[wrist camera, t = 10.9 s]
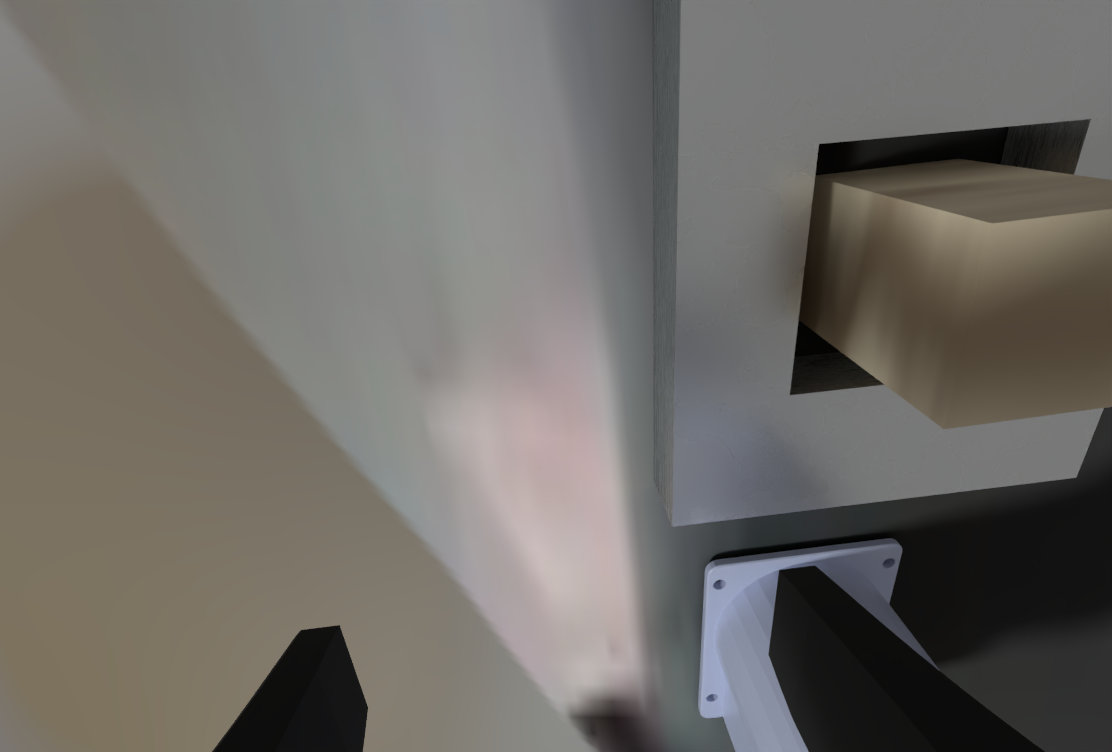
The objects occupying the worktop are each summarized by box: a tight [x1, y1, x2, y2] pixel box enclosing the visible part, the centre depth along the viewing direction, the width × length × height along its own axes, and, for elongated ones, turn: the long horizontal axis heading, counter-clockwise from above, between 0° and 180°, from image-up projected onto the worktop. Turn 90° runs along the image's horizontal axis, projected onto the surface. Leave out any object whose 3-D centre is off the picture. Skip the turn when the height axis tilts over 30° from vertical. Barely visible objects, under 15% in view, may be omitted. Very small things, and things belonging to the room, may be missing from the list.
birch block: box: [799, 159, 1112, 429], centre depth 15 cm, size 4×4×7 cm
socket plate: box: [653, 0, 1112, 527], centre depth 17 cm, size 16×14×2 cm
